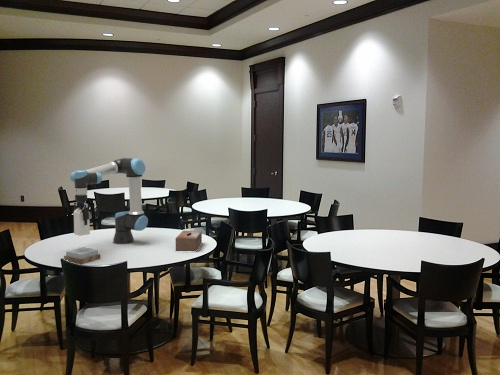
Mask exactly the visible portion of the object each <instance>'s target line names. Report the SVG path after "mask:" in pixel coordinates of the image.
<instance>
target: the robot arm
mask: <svg viewBox="0 0 500 375" xmlns="http://www.w3.org/2000/svg"><path fill="white" fill-rule="evenodd" d="M145 172H146V164H145V162H144V161H143V160H142V159H141V158H135V157H134V158H131V157H130V158H129V157H124V158H123V157H122V158H118V159H115V160H111V161H109V162H108V163H105V164H103V165H102V164H101V165H99V166H95V167H92V168H88V169H84V170H75V171H73V172H71V173H70V176H69V178H70V181H71V182H72V183H74V194H75V195H74V200H75V201H76V202H74V203H73V204H74V209H73V212H74V211H75V210H76V209H77V208H80V209H81V210H82V208H84V209H83V210H82V213H83V230H87V220H88V219H90V211H89V210H90V209H89V207H90V206H89V204H88V203H86V201H88V185H97V184H100V183H101V182H102V180H103V177H104V176H108V175H111V174H112V175H115V174H125V177H126V179H128V192H129V193H128V194H129V196H128V198H129V211H120V212H116V213H115V214H114V229H115V232H114V237H113V238H112V243H114V244H116V245H117V244H118V245H121V244H122V245H123V244H124V245H125V244H131V243H133V242H134V236H133V232H132V230H133V231H137V232H138V231H144V230H145V229H146V227H147V226H148V223H149V219H148V217H147V216H146V215H145V211H144V210H143V206H142V205H143V204H142V202H143V201H142V187H141V186H142V185H141V184H142V183H141V179H142V177H143V175H144V174H145Z"/></svg>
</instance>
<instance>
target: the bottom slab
mask: <svg viewBox="0 0 500 375" xmlns="http://www.w3.org/2000/svg"><path fill="white" fill-rule="evenodd" d="M64 259H65V260H68V261H70V262H69V263H72V262H73V263H72V264H77V263H78V265H83V264H86V263H87V264H88V263H90V262H94V261H97V260H101V253H98V255H94V256H90V257H87V258H83V259H78V258H73V257H68V256H66V255H64V256H63V260H64ZM68 261H67V262H68Z"/></svg>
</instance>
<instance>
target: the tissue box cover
mask: <svg viewBox="0 0 500 375" xmlns="http://www.w3.org/2000/svg"><path fill="white" fill-rule="evenodd" d="M202 236H203V232H202V230H182V231H181V232H180V233H178V235H177V236H176V237H175V252H176V251H196V250H197V249H198V250H199V248H200V247H201V245H202V244H203V243H202V242H203V241H202V238H203V237H202ZM201 243H202V244H201ZM200 244H201V245H200ZM199 246H200V247H199ZM198 247H199V248H198ZM198 250H197V251H198ZM197 251H196V252H197Z"/></svg>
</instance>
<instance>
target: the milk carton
mask: <svg viewBox="0 0 500 375" xmlns="http://www.w3.org/2000/svg"><path fill="white" fill-rule="evenodd" d="M83 209H84V208H82V210H83ZM82 210H81V209H80V208H77V209H76V210H75V211H74V210H73V235H76V236H78V237H79V236H80V237H81V236H88V235H90V234H91V233H90V232H91V231H90V226H91V225H90V223H91V222H90V218H89V219H88V220H87V230H83V213H82Z"/></svg>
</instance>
